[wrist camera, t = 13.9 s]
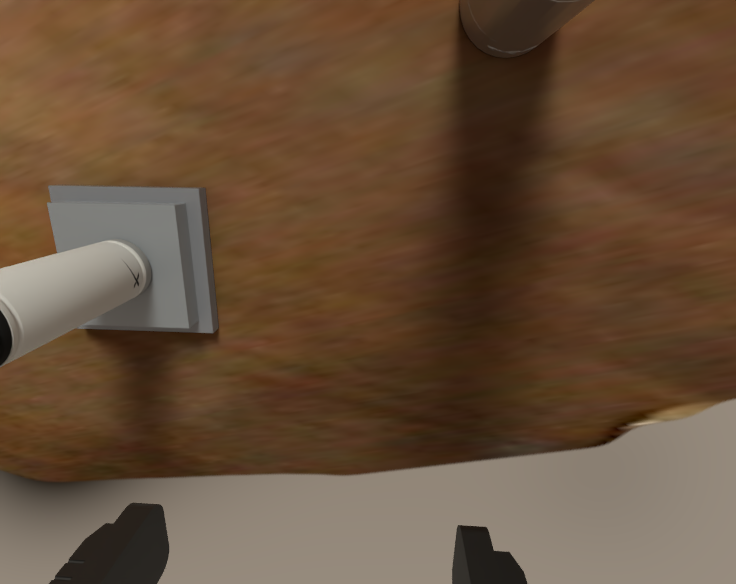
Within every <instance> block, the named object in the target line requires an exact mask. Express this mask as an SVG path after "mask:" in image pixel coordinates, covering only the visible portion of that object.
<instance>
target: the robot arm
mask: <svg viewBox="0 0 736 584" xmlns="http://www.w3.org/2000/svg"><path fill="white" fill-rule="evenodd" d="M593 1H594V0H460V6H459V7H460V16H461V21H462V24H463V27H464V30H465V32H466V34H467V35H468V37H469V39H470V40H471V41H472V42H473V43H474V45H475V46H476V47H477V48H479V49H480V50H482V51H483V52H485V53H487V54H489V55H492V56H495V57H502V58H509V57H516V56H519V55H522V54H525V53H527V52H529V51H531V50H532V49H534V48H536V47H537V46H538V45H539V44H541V43H542V42H543V41H544V40H546V39H547V38H548V37H549V36H551V35H552V34H553V33H555V32H556V31H557V30H558V29H560V28H561V27H562V26H563V25H565V24H566V23H567V22H568V21H570V20H571V19H572V18H573V17H575V16H576V15H577V14H578V13H579V12H581V11H582V10H583V9H584V8H586V7H587V6H588V5H589V4H591V3H592V2H593ZM168 554H169V542H168V536H167V530H166V523H165V518H164V511H163V507H162V506H161V505H159V504H142V503H131V504H130V505H128V506H127V507H126V508H125V510H124V511H123V512H122V513H121V515H120V516H119V517H118V519H117V520H116V521H115V523H114V524H109V523H108V524H107V523H106V524H105V525H103V526H102V527H101V528H99V529H98V530H97V531H95V532H94V533H93V534H91V535H90V536H89V537H88V538H86V539H85V540H84V541H83V542H82V544H81V545H80V546H79V547H78V549H77V550H76V551H75V552H74V553H73V555H72V556H71V557H70V559H69V561H68V563H66V564H65V565H64V566H63V567H62V568H61V569H60V571H59V572H58V573H57V575H56V576H55V579H54V580H52V581H51V582H50V583H49V584H157V583H158V581H159V579H160V577H161V576H162V574H163V572H164V569H165V567H166V564H167V560H168ZM452 584H527V581H526V578H525V575H524V572H523V570H522V569H521V568H520V566H519V565H518V563H517V562H516V561H515V559H514V558H513V557H512V555H511V554H510V552H500V551H494V550H493V546H492V542H491V539H490V535H489V532H488V529H487V528H486V527H477V526H462V525H458V527H457V533H456V541H455V551H454V559H453V569H452Z"/></svg>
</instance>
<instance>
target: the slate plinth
mask: <svg viewBox="0 0 736 584" xmlns="http://www.w3.org/2000/svg"><path fill="white" fill-rule="evenodd" d="M48 187H49V192H50V197H51V202H48V203H47V205H48V210H49V215H50V220H51V225H52V230H53V234H54V239H55V244H56V249H57V253H61V252H65V251H69V250H72V249H76V248H80V247H84V246H87V245H91V244H95V243H99V242H102V241H106V240H110V239H122V240H126V241H128V242H130V243H133V244H134V245H136V246H137V247H138V248H139V249H140V250H141V251H142V252H143V253H144V254H145V256H146V257H147V259H148V261H149V263H150V267H151V281H150V284H149V286H148V287H147V289H146V290H145V291H144V292H143V293H142V294H140V295H138V296H137V297H135V298H133V299H130V300H129V301H127V302H125V303H123V304H121V305H119V306H117V307H115V308H113V309H111V310H110V311H108V312H106V313H104V314H102V315H100V316H98V317H96V318H94V319H92V320H90V321H88V322H86V323H85V324H83V325H81V326H79V327H77V328H80V329H109V330H137V331H165V332H194V333H214V332H215V331H216V330H217V329H218V328H219V325H218V315H217V304H216V294H215V284H214V273H213V263H212V252H211V242H210V232H209V221H208V211H207V201H206V190H205V188H191V187H140V186H89V185H51V186H48Z"/></svg>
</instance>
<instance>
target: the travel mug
mask: <svg viewBox="0 0 736 584" xmlns="http://www.w3.org/2000/svg"><path fill="white" fill-rule="evenodd" d="M150 281H151V267H150V263H149V261H148V259H147V257H146V256H145V254H144V253H143V252H142V251H141V250H140V249H139V248H138V247H137V246H136V245H134V244H133V243H130V242H128V241H126V240H122V239H110V240H106V241H102V242H99V243H95V244H91V245H87V246H84V247H80V248H76V249H72V250H69V251H65V252H61V253H57V254H53V255H50V256H46V257H42V258H38V259H35V260H31V261H27V262H23V263H20V264H16V265H12V266H8V267H5V268H1V269H0V367H2V366H3V365H5V364H7V363H9V362H11V361H13V360H15V359H17V358H19V357H21V356H23V355H25V354H27V353H29V352H31V351H32V350H34V349H36V348H38V347H40V346H42V345H44V344H46V343H48V342H50V341H52V340H54V339H56V338H58V337H59V336H61V335H63V334H65V333H67V332H69V331H71V330H73V329H75V328H77V327H79V326H81V325H83V324H85V323H86V322H88V321H90V320H92V319H94V318H96V317H98V316H100V315H102V314H104V313H106V312H108V311H110V310H111V309H113V308H115V307H117V306H119V305H121V304H123V303H125V302H127V301H129V300H130V299H133V298H135V297H137V296H138V295H140V294H142V293H143V292H144V291H145V290H146V289H147V287H148V286H149V284H150Z"/></svg>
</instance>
